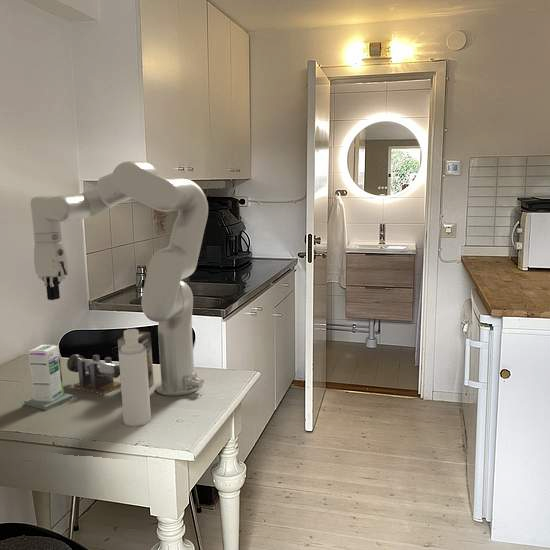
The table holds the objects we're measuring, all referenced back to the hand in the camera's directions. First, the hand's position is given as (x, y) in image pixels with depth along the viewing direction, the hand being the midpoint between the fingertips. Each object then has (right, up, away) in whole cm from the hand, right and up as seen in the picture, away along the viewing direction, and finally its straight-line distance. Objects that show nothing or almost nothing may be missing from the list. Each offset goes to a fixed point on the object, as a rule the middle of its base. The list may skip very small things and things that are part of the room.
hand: (53, 299), depth 170 cm
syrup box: (+4, -27, -14) cm, 30 cm away
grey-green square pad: (+4, -28, -14) cm, 31 cm away
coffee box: (+27, -26, -6) cm, 38 cm away
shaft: (+14, -22, -4) cm, 26 cm away
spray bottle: (+32, -30, -27) cm, 51 cm away
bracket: (+14, -26, -4) cm, 30 cm away
